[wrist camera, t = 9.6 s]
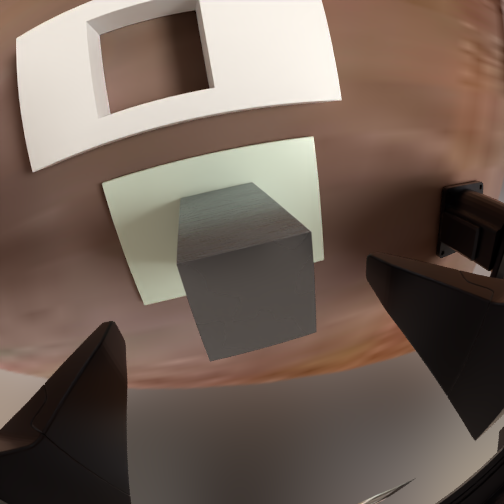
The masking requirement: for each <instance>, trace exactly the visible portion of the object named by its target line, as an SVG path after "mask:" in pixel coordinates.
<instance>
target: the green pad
mask: <svg viewBox="0 0 504 504" xmlns="http://www.w3.org/2000/svg"><path fill="white" fill-rule="evenodd" d="M251 182H253V183H254V184H255V185H256V186H258V187H259V188H260V189H261V190H262V191H264V192H265V193H266V194H267V195H269V196H270V197H271V198H272V199H273V200H275V201H276V202H277V203H278V204H279V205H281V206H282V207H283V208H284V209H285V210H287V211H288V212H289V213H290V214H291V215H292V216H294V217H295V218H296V219H297V220H298V221H299V222H301V223H302V224H303V225H304V226H305V227H306V228H308V229H309V230H310V231H311V232H312V246H313V262H314V263H315V262H319V261H322V260H324V250H323V233H322V218H321V205H320V193H319V183H318V173H317V163H316V154H315V146H314V138H313V137H311V136H309V137H301V138H293V139H286V140H279V141H272V142H266V143H260V144H254V145H248V146H243V147H237V148H232V149H227V150H222V151H217V152H213V153H208V154H204V155H199V156H195V157H190V158H186V159H182V160H178V161H174V162H170V163H166V164H163V165H159V166H155V167H151V168H148V169H144V170H141V171H137V172H134V173H131V174H127V175H124V176H121V177H118V178H115V179H111V180H108V181H105V182H103V183H102V186H103V189H104V193H105V196H106V200H107V203H108V206H109V210H110V213H111V216H112V219H113V222H114V225H115V228H116V231H117V234H118V237H119V240H120V243H121V246H122V249H123V252H124V254H125V257H126V260H127V262H128V265H129V268H130V270H131V273H132V276H133V278H134V281H135V283H136V286H137V288H138V291H139V293H140V295H141V298H142V300H143V302H144V305H148V304H153V303H157V302H161V301H166V300H170V299H174V298H178V297H182V296H186V293H185V289H184V286H183V283H182V280H181V277H180V274H179V271H178V267H177V242H178V226H179V211H180V199H181V198H183V197H187V196H192V195H196V194H200V193H204V192H209V191H213V190H218V189H222V188H227V187H231V186H236V185H241V184H246V183H251Z"/></svg>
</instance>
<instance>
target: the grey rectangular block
mask: <svg viewBox="0 0 504 504" xmlns="http://www.w3.org/2000/svg"><path fill="white" fill-rule="evenodd" d="M177 267H178V271H179V274H180V277H181V280H182V283H183V286H184V289H185V293H186V296H187V299H188V302H189V305H190V307H191V310H192V313H193V316H194V319H195V322H196V325H197V327H198V330H199V333H200V336H201V339H202V341H203V344H204V347H205V349H206V352H207V355H208V357H209V360H210V361H214V360H218V359H222V358H227V357H231V356H235V355H239V354H243V353H247V352H250V351H254V350H258V349H262V348H265V347H269V346H272V345H276V344H279V343H283V342H286V341H289V340H293V339H296V338H299V337H302V336H306V335H309V334H312V333H315V332H316V302H315V280H314V262H313V246H312V232H311V231H310V230H309V229H308V228H306V227H305V226H304V225H303V224H302V223H301V222H299V221H298V220H297V219H296V218H295V217H294V216H292V215H291V214H290V213H289V212H288V211H287V210H285V209H284V208H283V207H282V206H281V205H279V204H278V203H277V202H276V201H275V200H273V199H272V198H271V197H270V196H269V195H267V194H266V193H265V192H264V191H262V190H261V189H260V188H259V187H258V186H256V185H255V184H254V183H253V182H251V183H246V184H241V185H236V186H231V187H227V188H222V189H218V190H213V191H209V192H204V193H200V194H196V195H192V196H187V197H183V198H181V199H180V211H179V226H178V242H177Z"/></svg>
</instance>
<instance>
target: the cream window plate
mask: <svg viewBox="0 0 504 504" xmlns="http://www.w3.org/2000/svg"><path fill="white" fill-rule="evenodd" d="M194 10H196V15H197V21H198V27H199V33H200V39H201V44H202V50H203V56H204V61H205V67H206V72H207V78H208V84H209V89H205V90H200V91H195V92H190V93H185V94H181V95H176V96H172V97H168V98H164V99H160V100H156V101H152V102H149V103H145V104H142V105H138V106H135V107H132V108H128V109H125V110H122V111H119V112H116V113H113V114H110V108H109V103H108V97H107V91H106V84H105V78H104V71H103V63H102V55H101V46H100V36H99V35H101V34H104V33H107V32H109V31H112V30H115V29H118V28H122V27H125V26H128V25H131V24H135V23H138V22H142V21H146V20H150V19H154V18H158V17H162V16H167V15H172V14H177V13H182V12H188V11H194ZM16 56H17V79H18V91H19V101H20V109H21V116H22V123H23V129H24V135H25V140H26V145H27V150H28V154H29V159H30V163H31V167H32V171H33V172H36V171H38V170H41V169H44V168H47V167H50V166H52V165H55V164H57V163H59V162H62V161H64V160H67V159H69V158H72V157H74V156H77V155H79V154H82V153H84V152H87V151H90V150H92V149H95V148H98V147H101V146H104V145H107V144H109V143H112V142H115V141H118V140H122V139H125V138H128V137H131V136H134V135H138V134H141V133H145V132H148V131H152V130H155V129H159V128H163V127H167V126H171V125H175V124H179V123H183V122H188V121H192V120H197V119H201V118H206V117H211V116H217V115H222V114H228V113H233V112H239V111H246V110H253V109H260V108H268V107H276V106H285V105H296V104H308V103H322V102H330V101H338V100H341V93H340V87H339V80H338V74H337V69H336V63H335V58H334V53H333V48H332V43H331V38H330V33H329V29H328V25H327V20H326V16H325V12H324V8H323V4H322V1H321V0H93V1H90V2H88V3H85V4H83V5H80V6H78V7H76V8H73V9H71V10H69V11H67V12H64V13H62V14H60V15H58V16H56V17H54V18H52V19H50V20H48V21H46V22H44V23H42V24H40V25H39V26H37V27H35V28H33V29H31V30H30V31H28V32H26V33H25V34H23V35H21V36H20V37H18V38H17V39H16Z"/></svg>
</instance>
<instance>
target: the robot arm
mask: <svg viewBox="0 0 504 504" xmlns="http://www.w3.org/2000/svg"><path fill="white" fill-rule="evenodd" d="M455 252H458V253H460V254H461V255H463V256H465V257H466V258H468V259H469V260H471V261H474V262H475V263H477V264H478V265H480V266H482V267H483V268H485V269H486V270H488V271H491V275H490V277H487V276H482V275H477V274H473V273H468V272H464V271H459V270H456V269H452V268H447V267H443V266H439V265H434V264H430V263H426V262H421V261H417V260H412V259H408V258H404V257H399V256H394V255H390V254H385V253H381V252H375V253H372V254H369V255H368V256H367V261H366V278H367V281H368V282H369V284H370V285H371V287H372V289H373V290H374V292H375V293H376V295H377V297H378V298H379V300H380V302H381V303H382V305H383V306H384V308H385V309H386V311H387V312H388V314H389V315H390V316H391V318H392V319H393V320H394V322H395V323H396V324H397V326H398V327H399V328H400V330H401V331H402V332H403V334H404V335H405V336H406V338H407V339H408V340H409V342H410V343H411V345H412V346H413V347H414V349H415V350H416V351H417V353H418V354H419V356H420V357H421V358H422V360H423V361H424V363H425V364H426V365H427V367H428V368H429V370H430V371H431V373H432V374H433V376H434V377H435V378H436V380H437V381H438V383H439V384H440V386H441V388H442V389H443V391H444V392H445V394H446V395H447V396H448V399H449V400H450V402H451V403H452V405H453V406H454V408H455V409H456V411H457V413H458V414H459V416H460V417H461V419H462V421H463V422H464V424H465V426H466V427H467V429H468V431H469V432H470V434H471V436H472V437H473V438H474V440H477V439H478V438H479V437H480V436H481V435H482V434H484V433H485V432H486V431H487V430H488V429H489V428H490V427H491V426H492V425H493V424H494V423H495V422H496V421H497V420H498V419H499V418H500V417H501V416H502V415H503V414H504V203H503V202H501V201H498V200H496V199H494V198H491V197H489V196H486V195H484V194H483V183H482V182H480V181H475V182H469V183H464V184H458V185H453V186H447V187H445V188H444V189H443V191H442V205H441V218H440V228H439V237H438V245H437V252H436V254H437V256H438V257H440V258H443V257H445V256H448V255H450V254H452V253H455ZM129 495H130V489H129V477H128V460H127V366H126V345H125V340H124V338H123V336H122V334H121V333H120V331H119V329H118V327H117V325H116V323H115V322H113V321H109V322H104V323H102V324H101V325H100V326H99V327H98V328H97V329H96V330H95V331H94V332H93V333H92V334H91V335H90V336H89V337H88V338H87V339H86V340H85V341H84V342H83V343H82V344H81V345H80V346H79V347H78V348H77V349H76V350H75V352H74V353H73V354H72V355H71V356H70V357H69V358H68V359H67V360H66V361H65V362H64V363H63V364H62V365H61V366H60V367H59V368H58V370H57V371H56V372H55V373H54V374H53V375H52V376H51V377H50V378H49V379H48V380H47V382H46V383H45V385H43V386H42V387H41V388H40V389H39V391H38V392H37V393H36V394H35V395H34V396H33V397H32V398H31V399H30V400H29V401H28V402H27V403H26V404H25V406H23V407H22V408H21V410H20V411H18V412H17V413H16V414H15V415H14V416H13V417H12V419H10V420H9V422H7V423H6V424H5V425H4V427H3V428H2V429H1V430H0V504H131V498H130V496H129ZM436 504H504V427H503V428H502V429H501V430H500V432H499V441H498V450H497V453H496V454H495V455H494V456H493V457H492V458H491V459H490V460H489V461H488V462H487V463H486V464H485V465H484V466H482V467H481V468H480V469H479V470H478V471H477V472H476V473H474V474H473V475H472V476H471V477H470V478H469V479H467V480H466V481H465V482H464V483H462V484H461V485H460V486H459V487H458V488H456V489H455V490H454V491H452V492H451V493H450V494H448V495H447V496H445V497H444V498H443V499H441V500H440V501H438V502H437V503H436Z"/></svg>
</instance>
